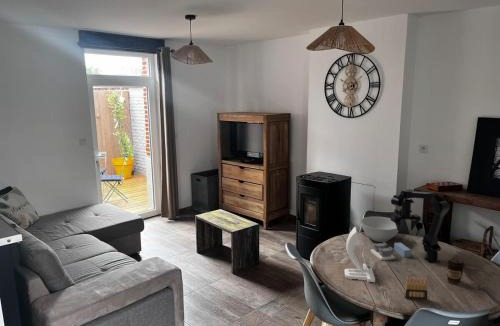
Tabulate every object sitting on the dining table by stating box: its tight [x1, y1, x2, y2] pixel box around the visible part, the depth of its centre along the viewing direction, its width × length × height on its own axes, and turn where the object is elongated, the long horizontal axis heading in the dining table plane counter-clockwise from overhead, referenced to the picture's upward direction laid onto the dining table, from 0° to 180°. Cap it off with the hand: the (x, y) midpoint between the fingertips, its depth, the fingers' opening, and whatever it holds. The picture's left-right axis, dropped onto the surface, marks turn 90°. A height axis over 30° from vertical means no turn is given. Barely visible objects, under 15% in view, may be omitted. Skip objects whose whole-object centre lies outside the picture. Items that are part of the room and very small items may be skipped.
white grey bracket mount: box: [370, 242, 395, 261], centre depth 235 cm, size 13×9×6 cm
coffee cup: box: [446, 257, 466, 285], centre depth 200 cm, size 9×8×13 cm
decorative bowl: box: [360, 216, 401, 243], centre depth 261 cm, size 27×27×12 cm
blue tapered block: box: [393, 241, 412, 258], centre depth 238 cm, size 12×4×5 cm, turn 9°
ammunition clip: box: [403, 275, 429, 301], centre depth 186 cm, size 11×2×12 cm, turn 81°
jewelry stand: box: [343, 226, 376, 284], centre depth 213 cm, size 25×16×25 cm, turn 171°
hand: (405, 230), depth 243 cm, fingers open, 9 cm apart
